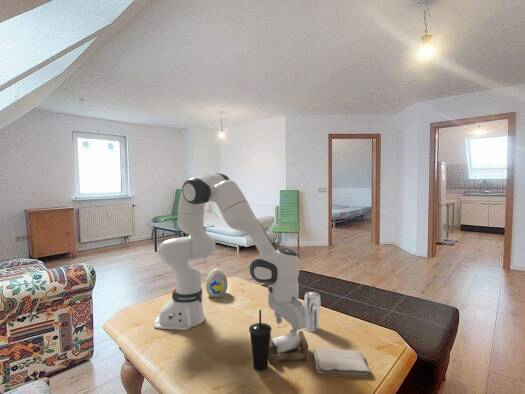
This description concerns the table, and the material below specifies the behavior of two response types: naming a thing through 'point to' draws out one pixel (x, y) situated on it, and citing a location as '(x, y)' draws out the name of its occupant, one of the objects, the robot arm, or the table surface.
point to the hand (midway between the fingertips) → (285, 328)
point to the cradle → (289, 352)
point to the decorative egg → (216, 283)
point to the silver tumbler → (312, 311)
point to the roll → (286, 343)
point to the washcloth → (341, 363)
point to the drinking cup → (260, 344)
